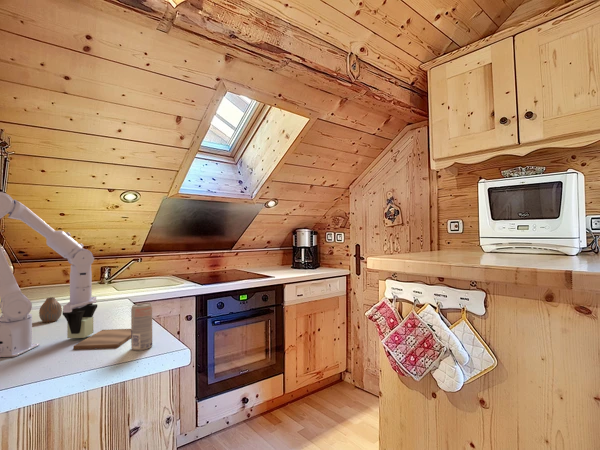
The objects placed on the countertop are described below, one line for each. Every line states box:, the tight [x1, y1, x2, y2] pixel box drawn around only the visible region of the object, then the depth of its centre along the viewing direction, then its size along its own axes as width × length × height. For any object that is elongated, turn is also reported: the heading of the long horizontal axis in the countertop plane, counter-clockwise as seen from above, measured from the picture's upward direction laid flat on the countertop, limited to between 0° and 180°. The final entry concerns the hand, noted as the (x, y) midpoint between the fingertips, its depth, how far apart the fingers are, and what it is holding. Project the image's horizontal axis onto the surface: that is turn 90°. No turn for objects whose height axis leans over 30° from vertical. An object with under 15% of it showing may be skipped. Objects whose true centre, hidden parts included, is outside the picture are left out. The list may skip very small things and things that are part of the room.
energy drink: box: [130, 302, 153, 352], centre depth 95 cm, size 5×5×12 cm
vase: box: [38, 296, 63, 323], centre depth 127 cm, size 7×7×9 cm
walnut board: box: [72, 328, 131, 350], centre depth 103 cm, size 16×12×1 cm
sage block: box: [66, 316, 94, 339], centre depth 105 cm, size 5×5×5 cm
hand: (80, 330), depth 105 cm, fingers closed on sage block, 5 cm apart
